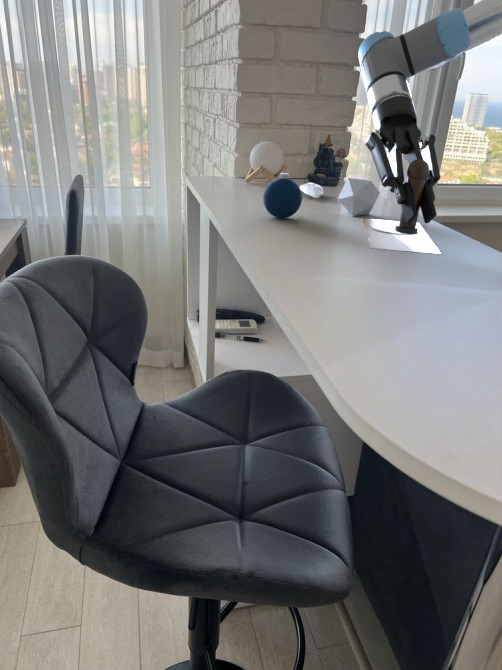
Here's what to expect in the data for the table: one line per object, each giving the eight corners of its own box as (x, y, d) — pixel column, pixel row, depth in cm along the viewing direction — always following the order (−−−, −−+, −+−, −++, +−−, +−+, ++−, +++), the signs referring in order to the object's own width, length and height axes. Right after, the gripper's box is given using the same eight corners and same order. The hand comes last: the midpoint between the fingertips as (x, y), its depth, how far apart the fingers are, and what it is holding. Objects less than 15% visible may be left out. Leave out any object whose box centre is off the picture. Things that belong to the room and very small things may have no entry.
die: (379, 222, 114) (391, 182, 116) (352, 203, 110) (365, 162, 111) (352, 227, 122) (364, 189, 123) (326, 210, 117) (338, 171, 118)
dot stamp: (415, 229, 94) (429, 158, 88) (419, 235, 90) (434, 161, 85) (393, 227, 94) (406, 157, 88) (396, 233, 90) (410, 160, 85)
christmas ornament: (308, 219, 110) (312, 172, 106) (279, 224, 105) (283, 174, 101) (282, 211, 116) (285, 166, 112) (254, 215, 111) (256, 168, 107)
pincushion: (327, 200, 130) (330, 178, 128) (304, 199, 130) (306, 177, 127) (317, 191, 141) (319, 170, 138) (295, 191, 140) (297, 169, 138)
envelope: (418, 224, 112) (419, 221, 111) (441, 256, 90) (442, 253, 90) (361, 219, 113) (361, 217, 113) (370, 250, 91) (371, 247, 91)
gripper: (420, 124, 100) (449, 229, 93) (344, 121, 96) (369, 230, 89) (441, 96, 93) (474, 207, 86) (360, 91, 89) (389, 207, 82)
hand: (421, 218), depth 87 cm, fingers closed on dot stamp, 3 cm apart
